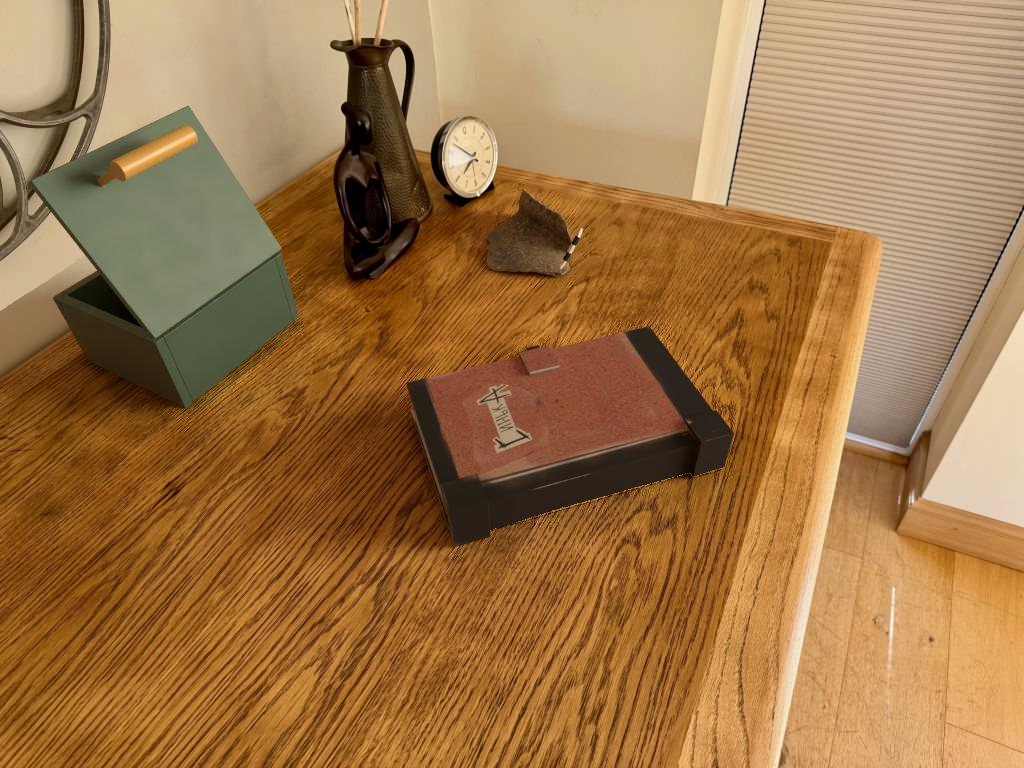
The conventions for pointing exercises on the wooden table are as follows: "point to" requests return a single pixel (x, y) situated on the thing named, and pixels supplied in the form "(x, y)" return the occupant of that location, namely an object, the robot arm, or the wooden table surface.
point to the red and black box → (561, 429)
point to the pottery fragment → (531, 240)
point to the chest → (181, 332)
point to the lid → (159, 218)
